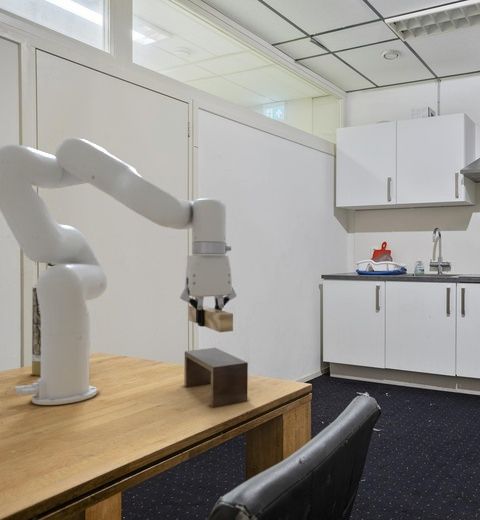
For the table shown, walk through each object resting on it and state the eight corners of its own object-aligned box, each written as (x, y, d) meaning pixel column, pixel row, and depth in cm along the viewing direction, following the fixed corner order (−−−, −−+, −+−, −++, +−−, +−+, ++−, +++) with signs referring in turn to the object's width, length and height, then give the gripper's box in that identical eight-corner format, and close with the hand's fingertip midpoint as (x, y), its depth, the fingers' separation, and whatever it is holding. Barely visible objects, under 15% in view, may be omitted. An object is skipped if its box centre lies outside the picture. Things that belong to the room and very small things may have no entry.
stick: (233, 331, 105) (233, 313, 105) (219, 332, 103) (219, 314, 103) (200, 319, 124) (200, 304, 124) (188, 320, 122) (188, 305, 122)
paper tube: (45, 377, 128) (46, 286, 128) (25, 375, 129) (26, 285, 129) (67, 371, 135) (68, 284, 134) (48, 369, 136) (48, 284, 136)
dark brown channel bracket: (212, 407, 104) (213, 367, 104) (184, 385, 121) (184, 351, 121) (247, 400, 109) (247, 362, 109) (215, 380, 126) (215, 347, 126)
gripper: (236, 250, 121) (236, 320, 122) (169, 249, 111) (168, 326, 111) (247, 250, 116) (247, 324, 116) (177, 249, 105) (177, 330, 105)
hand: (209, 324), depth 114 cm, fingers closed on stick, 3 cm apart
